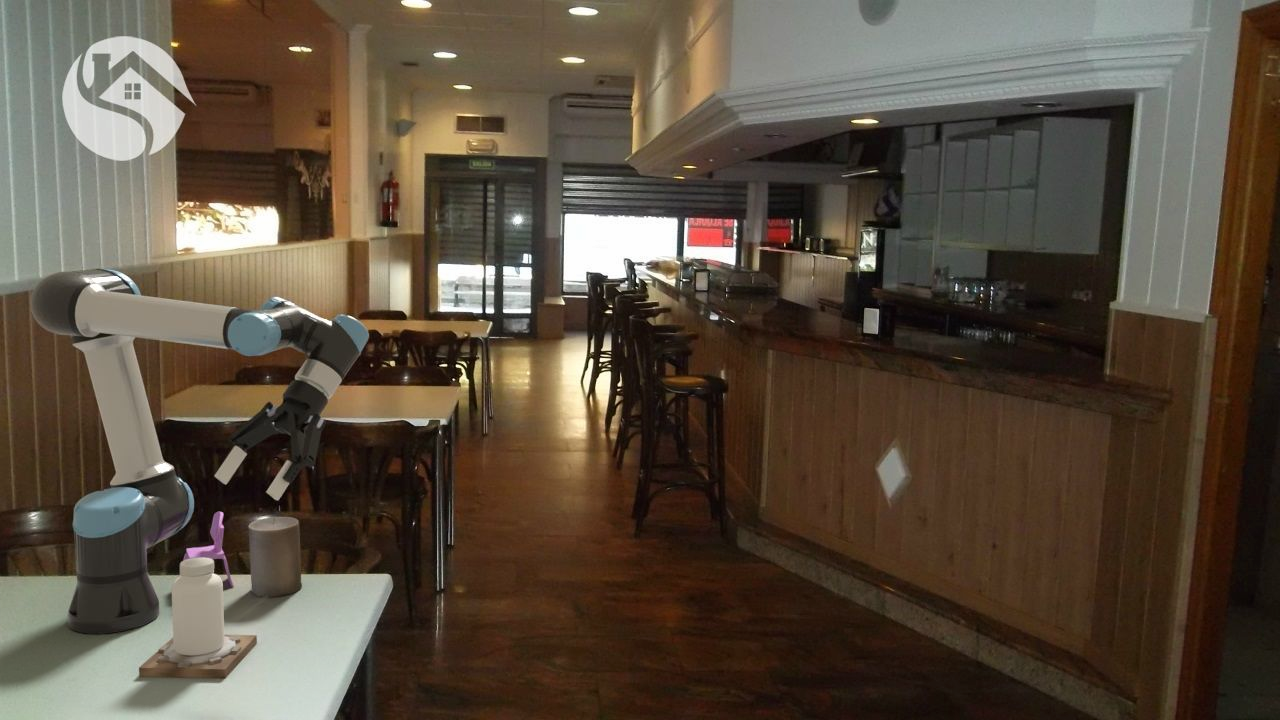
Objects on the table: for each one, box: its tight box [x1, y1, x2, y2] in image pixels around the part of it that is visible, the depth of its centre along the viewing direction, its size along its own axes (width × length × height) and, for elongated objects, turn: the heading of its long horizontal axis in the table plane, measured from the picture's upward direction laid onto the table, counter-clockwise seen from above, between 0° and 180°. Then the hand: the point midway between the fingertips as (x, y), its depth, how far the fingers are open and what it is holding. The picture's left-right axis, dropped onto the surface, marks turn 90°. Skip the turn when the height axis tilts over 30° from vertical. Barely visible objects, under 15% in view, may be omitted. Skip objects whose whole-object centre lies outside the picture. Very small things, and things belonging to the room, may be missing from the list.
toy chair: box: [182, 511, 234, 589], centre depth 210 cm, size 8×9×15 cm
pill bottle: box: [171, 557, 225, 656], centre depth 176 cm, size 8×8×15 cm
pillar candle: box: [248, 516, 303, 598], centre depth 209 cm, size 10×10×15 cm
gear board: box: [138, 634, 258, 679], centre depth 177 cm, size 14×14×2 cm
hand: (245, 488), depth 182 cm, fingers open, 13 cm apart
